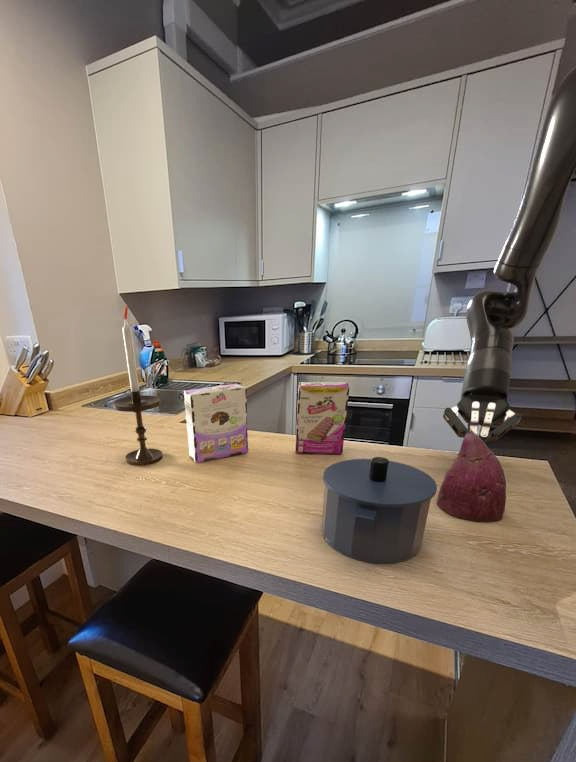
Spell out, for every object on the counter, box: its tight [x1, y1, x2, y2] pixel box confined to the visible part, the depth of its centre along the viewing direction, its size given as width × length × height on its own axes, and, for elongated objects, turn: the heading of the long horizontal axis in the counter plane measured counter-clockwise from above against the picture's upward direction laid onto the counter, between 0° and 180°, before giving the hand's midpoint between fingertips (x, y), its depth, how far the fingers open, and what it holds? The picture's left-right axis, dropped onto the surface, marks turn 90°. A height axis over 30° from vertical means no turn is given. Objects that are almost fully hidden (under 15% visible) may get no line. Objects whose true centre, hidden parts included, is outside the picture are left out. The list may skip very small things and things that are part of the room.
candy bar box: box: [295, 381, 350, 455], centre depth 92 cm, size 11×5×16 cm, turn 80°
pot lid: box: [322, 456, 438, 507], centre depth 58 cm, size 16×16×4 cm
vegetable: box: [436, 429, 507, 523], centre depth 67 cm, size 10×10×15 cm
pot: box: [320, 484, 432, 565], centre depth 60 cm, size 15×20×10 cm
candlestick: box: [112, 303, 164, 467], centre depth 90 cm, size 11×11×35 cm
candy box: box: [183, 383, 249, 464], centre depth 93 cm, size 14×6×16 cm, turn 111°
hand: (474, 457), depth 72 cm, fingers closed
